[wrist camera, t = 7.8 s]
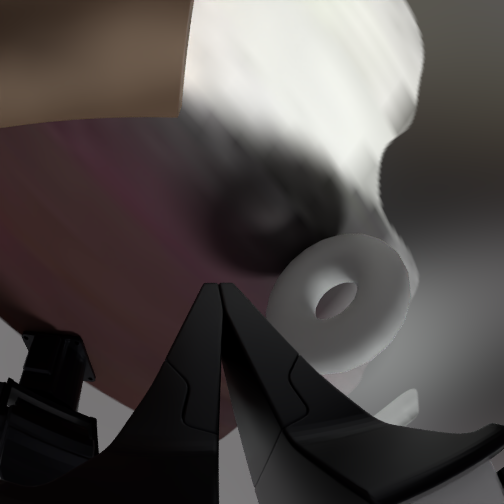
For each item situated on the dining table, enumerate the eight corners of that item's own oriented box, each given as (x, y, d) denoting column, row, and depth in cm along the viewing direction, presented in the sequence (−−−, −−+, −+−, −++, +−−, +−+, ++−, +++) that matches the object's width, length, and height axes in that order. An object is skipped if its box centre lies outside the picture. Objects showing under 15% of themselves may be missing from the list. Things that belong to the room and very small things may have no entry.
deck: (181, 106, 17) (177, 117, 14) (-18, 121, 14) (-52, 138, 11) (207, -74, 11) (211, -102, 7) (-2, -41, 8) (-34, -51, 4)
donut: (270, 303, 26) (303, 409, 18) (245, 279, 24) (272, 392, 16) (373, 233, 24) (445, 321, 16) (356, 201, 22) (436, 289, 14)
